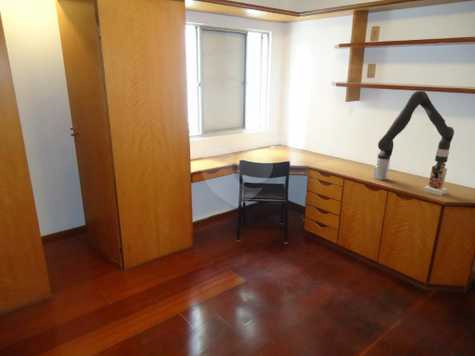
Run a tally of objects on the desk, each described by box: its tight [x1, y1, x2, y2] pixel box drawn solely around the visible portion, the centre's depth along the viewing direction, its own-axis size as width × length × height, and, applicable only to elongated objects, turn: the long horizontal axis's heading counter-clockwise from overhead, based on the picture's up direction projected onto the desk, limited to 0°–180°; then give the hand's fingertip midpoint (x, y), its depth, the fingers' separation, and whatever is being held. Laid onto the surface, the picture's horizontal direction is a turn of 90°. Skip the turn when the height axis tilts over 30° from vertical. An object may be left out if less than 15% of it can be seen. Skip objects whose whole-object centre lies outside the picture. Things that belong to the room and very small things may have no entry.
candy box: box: [427, 165, 448, 189], centre depth 248 cm, size 9×4×15 cm, turn 35°
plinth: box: [422, 185, 447, 196], centre depth 250 cm, size 12×10×3 cm
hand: (437, 177), depth 248 cm, fingers closed on candy box, 4 cm apart
